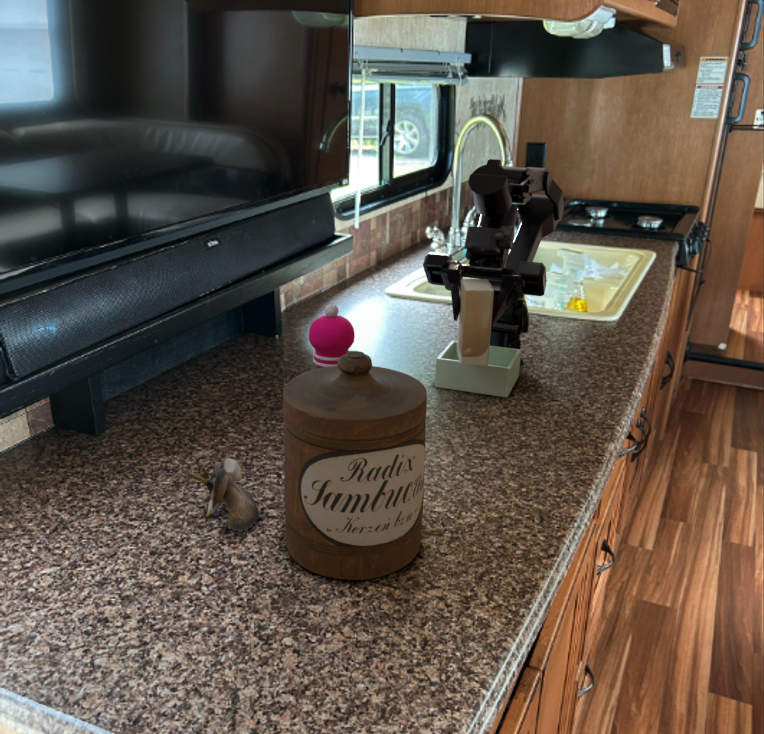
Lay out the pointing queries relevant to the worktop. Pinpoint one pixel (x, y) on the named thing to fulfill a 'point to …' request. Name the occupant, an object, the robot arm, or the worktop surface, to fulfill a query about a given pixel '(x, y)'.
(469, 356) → the cosmetic box
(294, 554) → the wooden container
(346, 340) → the pepper mill
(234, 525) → the eagle figurine
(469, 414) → the worktop surface
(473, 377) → the bin
